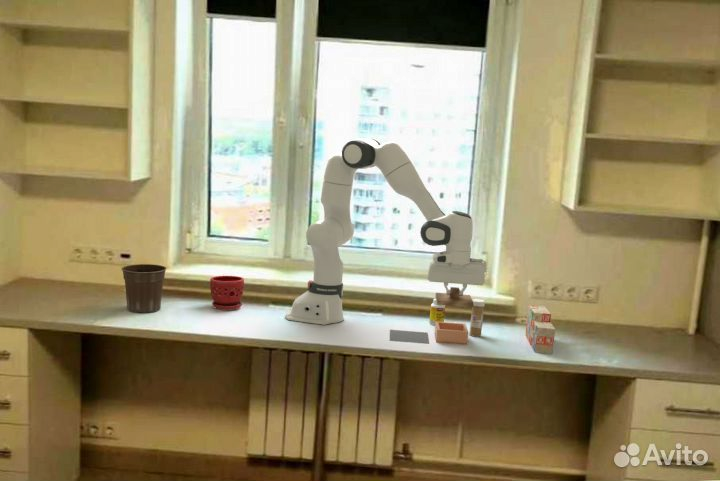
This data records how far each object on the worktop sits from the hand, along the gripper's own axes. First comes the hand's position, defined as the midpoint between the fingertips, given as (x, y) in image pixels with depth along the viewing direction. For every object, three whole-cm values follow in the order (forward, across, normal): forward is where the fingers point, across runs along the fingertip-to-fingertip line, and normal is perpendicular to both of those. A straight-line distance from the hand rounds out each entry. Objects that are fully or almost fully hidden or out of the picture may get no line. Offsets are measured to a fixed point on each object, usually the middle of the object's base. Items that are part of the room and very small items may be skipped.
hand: (454, 295), depth 253 cm
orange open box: (+17, 0, 0) cm, 17 cm away
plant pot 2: (+17, +87, -21) cm, 91 cm away
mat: (+17, +15, +1) cm, 22 cm away
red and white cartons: (+17, -32, -3) cm, 37 cm away
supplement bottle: (+17, +4, -19) cm, 26 cm away
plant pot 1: (+17, +116, -9) cm, 118 cm away
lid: (+2, 0, 0) cm, 2 cm away
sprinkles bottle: (+17, -10, -9) cm, 22 cm away
